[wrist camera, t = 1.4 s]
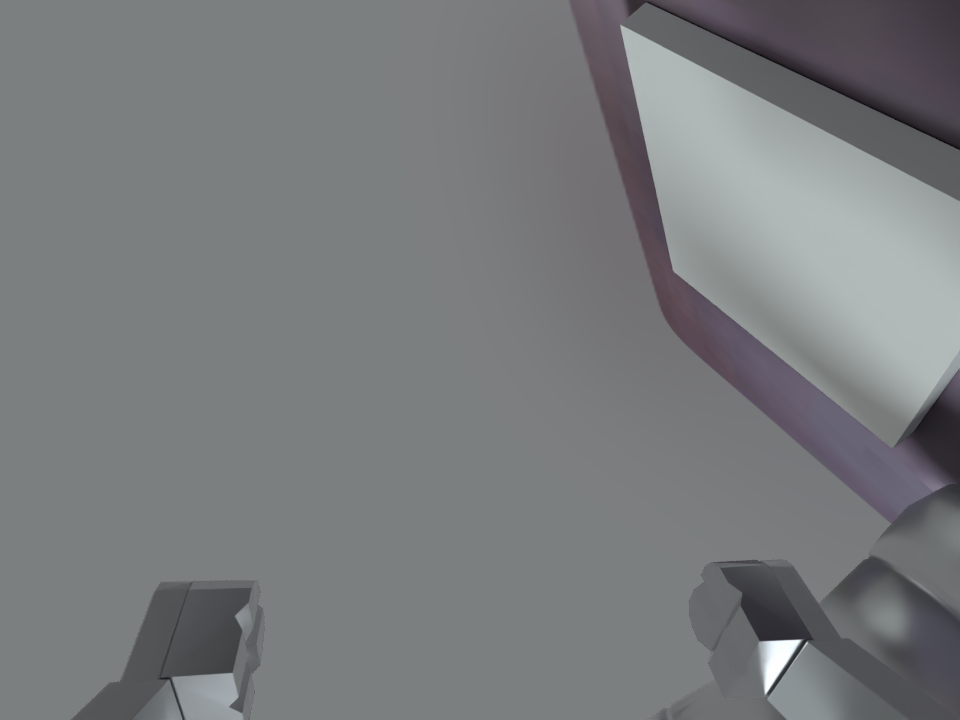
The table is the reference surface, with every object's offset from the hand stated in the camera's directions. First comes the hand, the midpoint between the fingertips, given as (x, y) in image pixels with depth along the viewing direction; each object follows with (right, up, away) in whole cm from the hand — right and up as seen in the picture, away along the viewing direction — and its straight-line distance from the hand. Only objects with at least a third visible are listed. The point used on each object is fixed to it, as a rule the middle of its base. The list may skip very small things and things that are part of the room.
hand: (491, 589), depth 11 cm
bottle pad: (+11, +8, +10) cm, 16 cm away
